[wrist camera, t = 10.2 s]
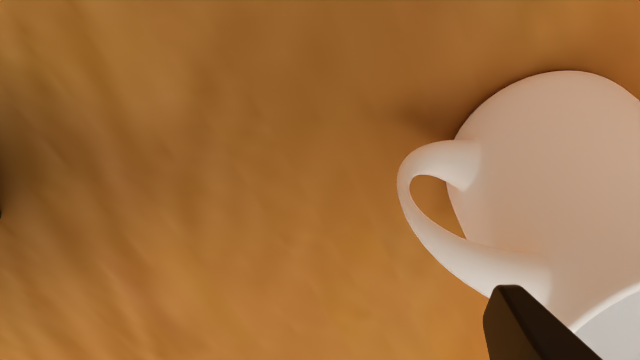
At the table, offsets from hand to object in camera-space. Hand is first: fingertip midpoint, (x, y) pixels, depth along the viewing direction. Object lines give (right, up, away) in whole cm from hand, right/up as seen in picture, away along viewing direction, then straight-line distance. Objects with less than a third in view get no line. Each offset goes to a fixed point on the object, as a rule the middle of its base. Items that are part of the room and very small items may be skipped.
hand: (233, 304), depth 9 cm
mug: (+9, +4, +15) cm, 18 cm away
